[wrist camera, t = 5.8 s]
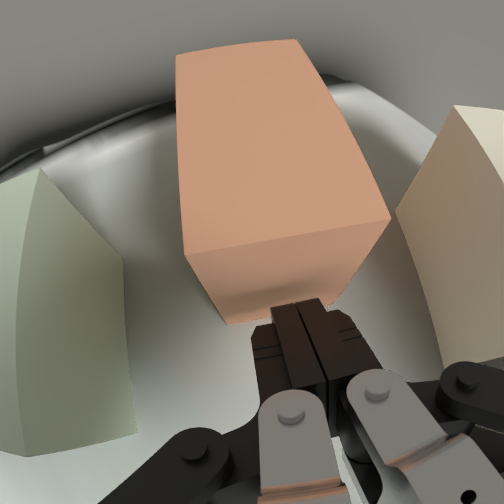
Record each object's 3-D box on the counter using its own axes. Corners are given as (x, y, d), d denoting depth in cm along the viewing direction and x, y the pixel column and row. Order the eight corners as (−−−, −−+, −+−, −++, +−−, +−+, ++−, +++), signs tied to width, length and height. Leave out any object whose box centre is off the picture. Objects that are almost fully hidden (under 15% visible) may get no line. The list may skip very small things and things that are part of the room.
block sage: (57, 429, 12) (-60, 429, 5) (51, 273, 16) (-41, 203, 9) (138, 432, 12) (26, 457, 5) (123, 258, 16) (40, 167, 9)
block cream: (443, 369, 13) (560, 339, 5) (394, 211, 16) (452, 105, 9) (506, 339, 13) (609, 294, 6) (457, 202, 16) (521, 113, 9)
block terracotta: (227, 324, 14) (184, 255, 7) (205, 171, 18) (175, 55, 11) (332, 304, 14) (391, 218, 7) (289, 157, 18) (295, 39, 11)
